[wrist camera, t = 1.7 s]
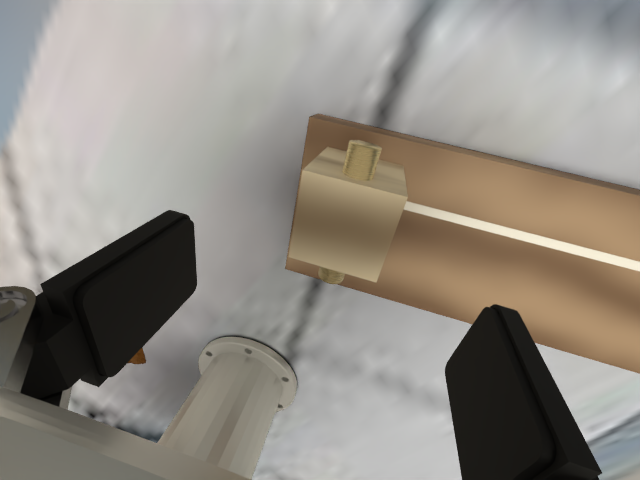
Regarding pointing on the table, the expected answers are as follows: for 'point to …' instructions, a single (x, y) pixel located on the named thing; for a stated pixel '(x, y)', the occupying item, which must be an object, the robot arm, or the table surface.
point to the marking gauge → (348, 212)
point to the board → (504, 242)
